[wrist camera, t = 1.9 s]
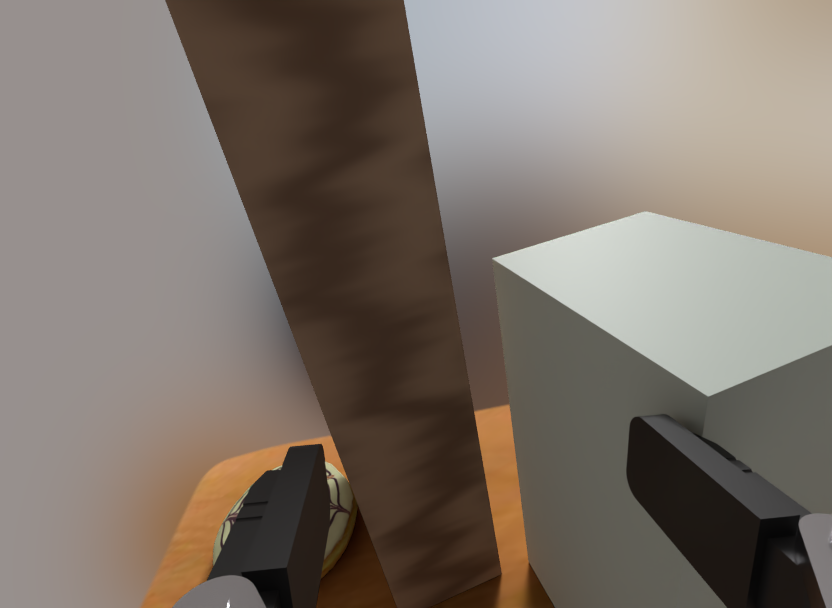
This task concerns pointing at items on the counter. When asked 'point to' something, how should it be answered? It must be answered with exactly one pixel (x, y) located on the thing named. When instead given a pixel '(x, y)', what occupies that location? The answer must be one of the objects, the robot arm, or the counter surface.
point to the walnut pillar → (356, 262)
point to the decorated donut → (340, 518)
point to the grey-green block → (656, 388)
